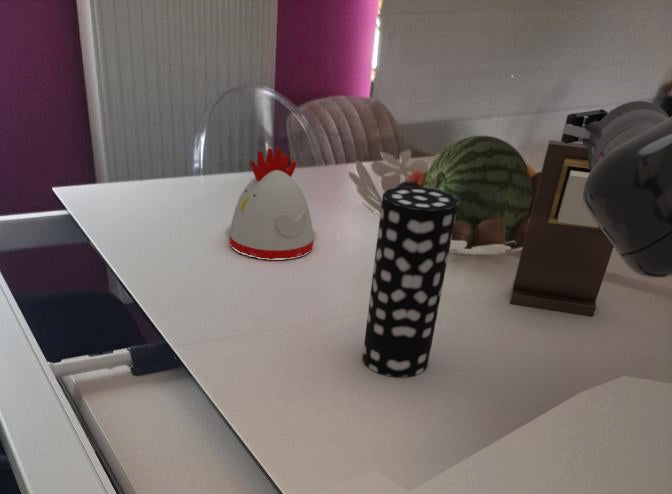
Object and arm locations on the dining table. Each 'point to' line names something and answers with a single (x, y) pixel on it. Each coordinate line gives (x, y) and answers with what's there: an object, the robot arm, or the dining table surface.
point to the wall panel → (560, 243)
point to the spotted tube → (408, 279)
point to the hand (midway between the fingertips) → (620, 117)
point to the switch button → (575, 202)
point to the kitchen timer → (272, 212)
